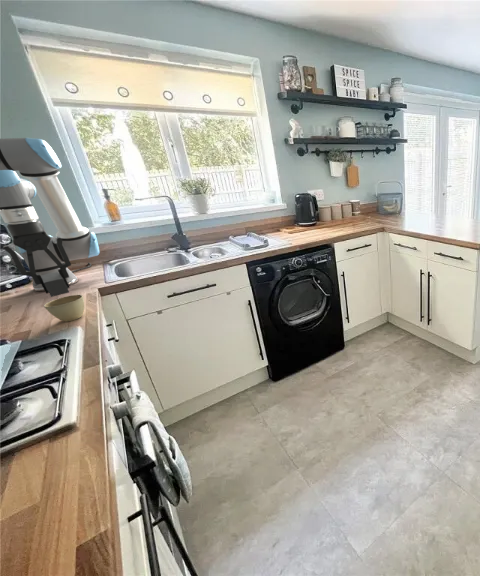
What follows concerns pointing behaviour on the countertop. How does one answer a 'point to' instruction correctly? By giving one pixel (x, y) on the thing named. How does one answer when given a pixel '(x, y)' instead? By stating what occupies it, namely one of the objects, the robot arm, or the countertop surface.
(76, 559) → the countertop surface
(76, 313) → the olive yellow bowl
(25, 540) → the countertop surface
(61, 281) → the bar
